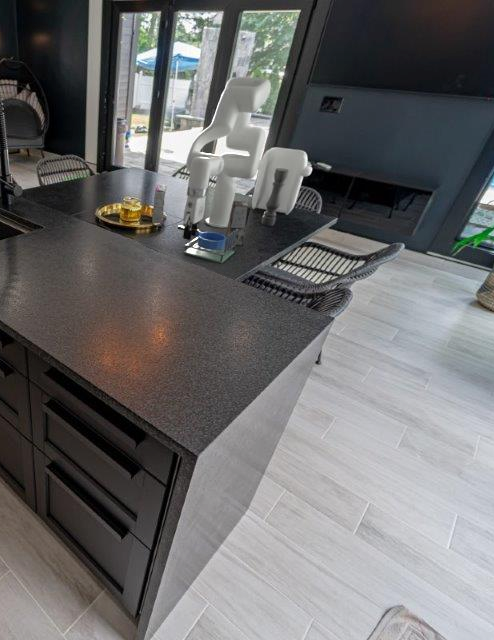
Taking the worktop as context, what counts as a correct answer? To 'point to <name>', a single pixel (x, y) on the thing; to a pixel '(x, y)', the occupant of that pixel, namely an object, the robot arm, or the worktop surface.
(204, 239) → the pan
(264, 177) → the toaster
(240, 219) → the coffee box
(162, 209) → the candy bar box
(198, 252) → the dish rack
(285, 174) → the candle holder
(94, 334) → the worktop surface
